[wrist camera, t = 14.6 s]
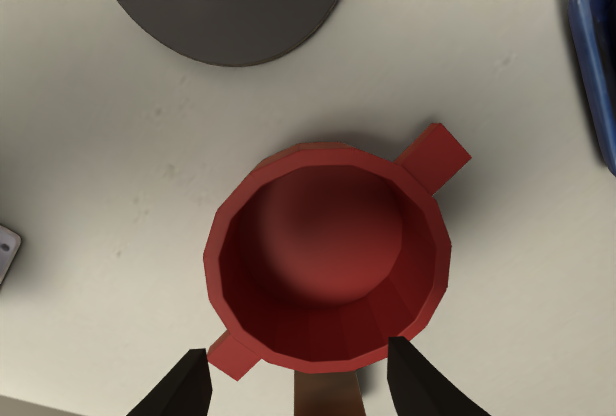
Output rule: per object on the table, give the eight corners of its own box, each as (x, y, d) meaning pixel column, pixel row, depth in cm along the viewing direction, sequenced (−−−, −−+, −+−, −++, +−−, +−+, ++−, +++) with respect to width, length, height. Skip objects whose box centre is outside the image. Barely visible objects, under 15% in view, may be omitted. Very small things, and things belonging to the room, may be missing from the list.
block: (352, 357, 23) (366, 417, 18) (352, 402, 24) (365, 470, 20) (294, 360, 23) (293, 422, 18) (297, 405, 24) (297, 475, 19)
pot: (478, 200, 20) (542, 228, 15) (299, 364, 23) (300, 435, 18) (348, 62, 18) (370, 35, 12) (167, 267, 21) (122, 317, 15)
